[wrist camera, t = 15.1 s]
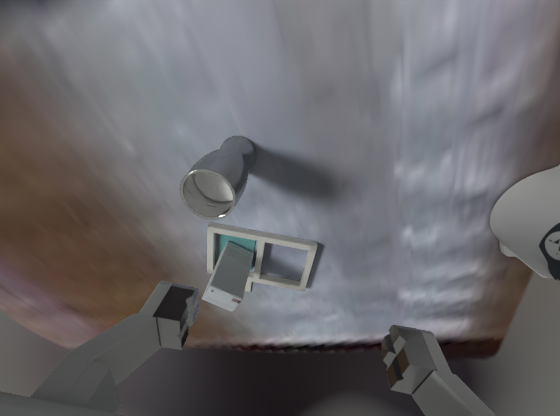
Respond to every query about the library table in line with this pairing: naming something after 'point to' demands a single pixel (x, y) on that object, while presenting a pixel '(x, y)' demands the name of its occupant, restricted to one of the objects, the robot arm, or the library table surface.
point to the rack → (258, 253)
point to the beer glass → (218, 179)
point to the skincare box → (229, 277)
